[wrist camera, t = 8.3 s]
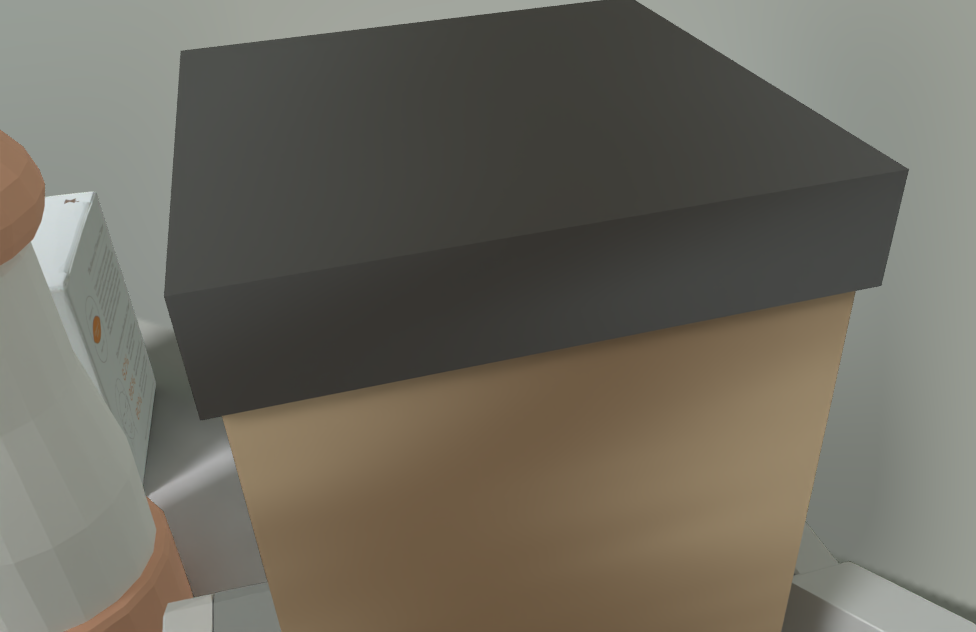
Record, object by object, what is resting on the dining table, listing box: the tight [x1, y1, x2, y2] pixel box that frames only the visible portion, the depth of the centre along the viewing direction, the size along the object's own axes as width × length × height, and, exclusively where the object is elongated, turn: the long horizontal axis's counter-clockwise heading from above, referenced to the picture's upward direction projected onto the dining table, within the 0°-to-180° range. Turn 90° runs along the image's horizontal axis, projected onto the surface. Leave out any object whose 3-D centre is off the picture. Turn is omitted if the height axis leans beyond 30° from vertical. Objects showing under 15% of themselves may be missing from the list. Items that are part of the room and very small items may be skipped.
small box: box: [31, 192, 156, 485], centre depth 36 cm, size 8×6×10 cm
